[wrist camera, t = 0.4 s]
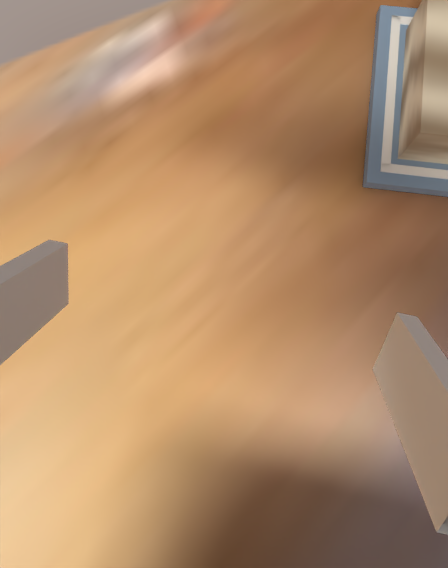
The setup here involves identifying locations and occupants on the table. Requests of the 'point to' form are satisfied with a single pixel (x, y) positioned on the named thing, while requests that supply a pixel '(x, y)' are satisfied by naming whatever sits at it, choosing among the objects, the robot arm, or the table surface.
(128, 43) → the table surface
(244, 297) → the table surface
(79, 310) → the table surface
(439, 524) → the robot arm
